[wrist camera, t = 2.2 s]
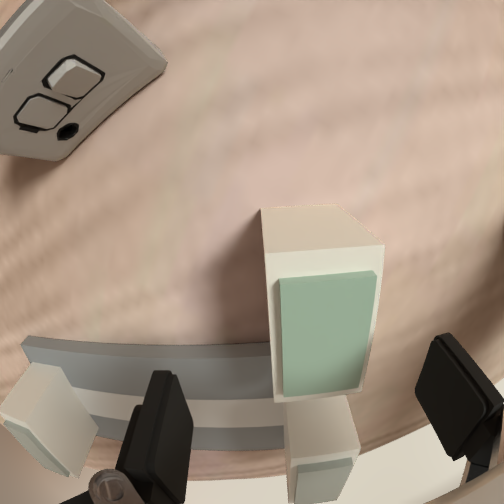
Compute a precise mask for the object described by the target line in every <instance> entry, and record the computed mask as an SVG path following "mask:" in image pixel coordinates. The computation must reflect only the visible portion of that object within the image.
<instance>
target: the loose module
mask: <svg viewBox="0 0 504 504" xmlns="http://www.w3.org/2000/svg"><path fill="white" fill-rule="evenodd" d="M261 221H262V235H263V248H264V262H265V276H266V291H267V306H268V321H269V335H270V349H271V364H272V379H273V394H274V403H281V402H292V401H302V400H311V399H319V398H327V397H334V396H341V395H347V394H353V393H358V392H361V391H362V387H363V383H364V379H365V374H366V370H367V365H368V361H369V356H370V351H371V346H372V341H373V335H374V329H375V324H376V317H377V311H378V304H379V297H380V290H381V282H382V273H383V264H384V253H385V244H384V243H383V242H382V241H381V240H380V239H378V238H377V237H376V236H375V235H374V234H373V233H372V232H370V231H369V230H368V229H367V228H366V227H365V226H363V225H362V224H361V223H360V222H359V221H358V220H356V219H355V218H354V217H353V216H352V215H351V214H349V213H348V212H347V211H346V210H344V209H343V208H342V207H341V206H340V205H338V204H319V205H301V206H285V207H271V208H261Z"/></svg>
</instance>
